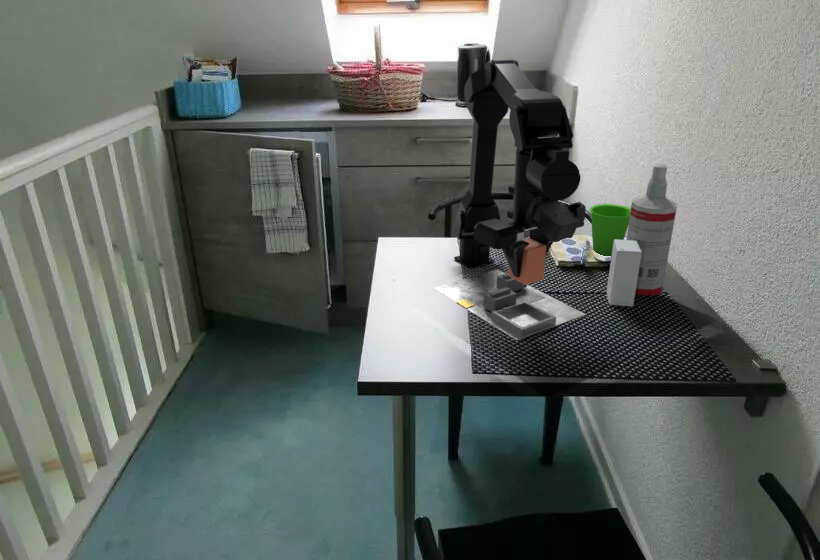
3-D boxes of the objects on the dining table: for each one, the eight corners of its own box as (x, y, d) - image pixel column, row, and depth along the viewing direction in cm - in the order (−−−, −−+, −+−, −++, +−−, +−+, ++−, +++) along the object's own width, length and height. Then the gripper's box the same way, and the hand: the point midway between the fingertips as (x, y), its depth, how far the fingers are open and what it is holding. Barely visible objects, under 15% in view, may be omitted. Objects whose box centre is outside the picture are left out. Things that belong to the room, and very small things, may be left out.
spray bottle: (657, 305, 110) (681, 172, 100) (616, 297, 113) (634, 168, 103) (663, 289, 117) (685, 162, 106) (623, 282, 120) (641, 159, 109)
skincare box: (632, 313, 108) (642, 252, 103) (608, 311, 108) (616, 250, 103) (628, 299, 113) (637, 239, 108) (605, 297, 114) (612, 238, 109)
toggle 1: (496, 288, 114) (497, 273, 113) (516, 281, 116) (517, 267, 115) (506, 293, 112) (507, 278, 110) (526, 287, 114) (527, 272, 113)
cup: (586, 264, 128) (592, 216, 124) (582, 249, 136) (587, 203, 132) (630, 267, 127) (637, 217, 122) (623, 251, 135) (630, 204, 130)
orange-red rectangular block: (525, 285, 96) (527, 250, 94) (509, 276, 99) (510, 243, 97) (543, 279, 98) (546, 245, 96) (526, 271, 101) (529, 238, 99)
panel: (433, 295, 116) (433, 281, 115) (496, 276, 124) (497, 262, 122) (516, 348, 97) (517, 332, 96) (584, 321, 105) (586, 306, 104)
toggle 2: (483, 306, 107) (484, 291, 106) (504, 299, 109) (505, 284, 108) (494, 313, 105) (494, 297, 103) (515, 306, 107) (516, 290, 106)
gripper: (523, 205, 81) (516, 306, 88) (615, 183, 90) (603, 277, 97) (472, 186, 90) (470, 280, 96) (562, 168, 99) (554, 255, 105)
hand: (526, 273), depth 99 cm, fingers closed on orange-red rectangular block, 4 cm apart
